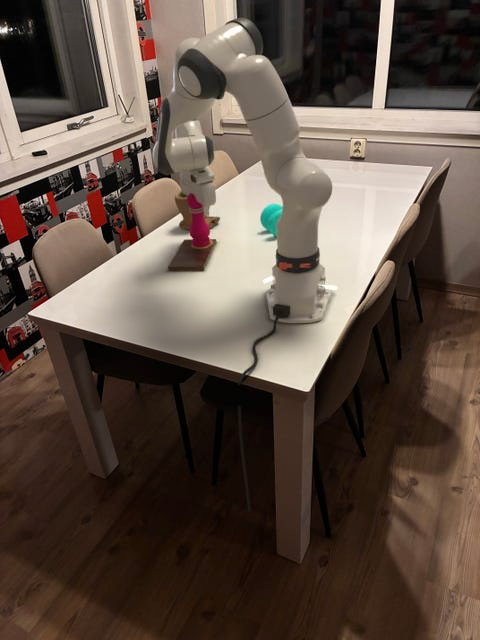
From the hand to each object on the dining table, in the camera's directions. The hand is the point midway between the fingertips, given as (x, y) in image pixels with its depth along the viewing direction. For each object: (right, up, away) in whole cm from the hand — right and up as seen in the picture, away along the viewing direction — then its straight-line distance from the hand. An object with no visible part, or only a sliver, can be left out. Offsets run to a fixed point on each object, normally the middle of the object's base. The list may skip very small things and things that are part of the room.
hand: (200, 211), depth 168 cm
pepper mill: (0, -10, +6) cm, 12 cm away
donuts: (+28, -5, +13) cm, 31 cm away
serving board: (-2, -15, +2) cm, 15 cm away
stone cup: (-3, -1, +24) cm, 24 cm away
